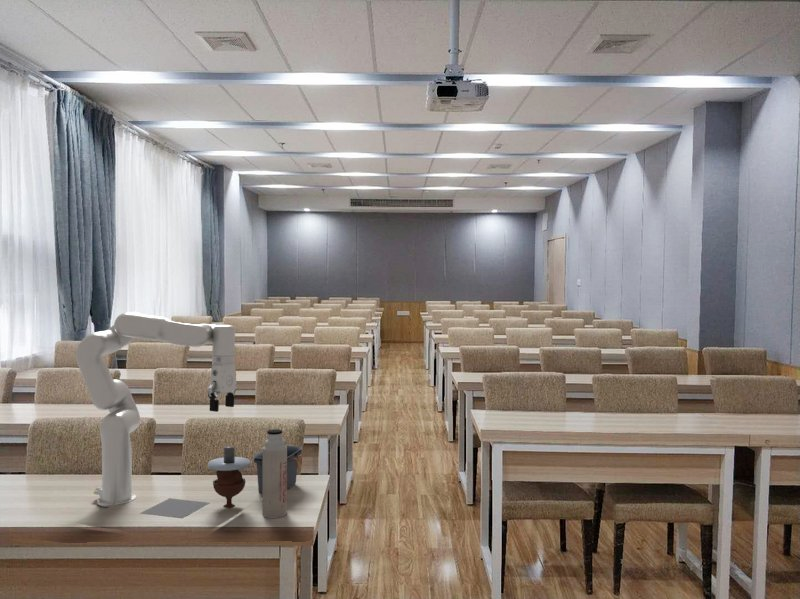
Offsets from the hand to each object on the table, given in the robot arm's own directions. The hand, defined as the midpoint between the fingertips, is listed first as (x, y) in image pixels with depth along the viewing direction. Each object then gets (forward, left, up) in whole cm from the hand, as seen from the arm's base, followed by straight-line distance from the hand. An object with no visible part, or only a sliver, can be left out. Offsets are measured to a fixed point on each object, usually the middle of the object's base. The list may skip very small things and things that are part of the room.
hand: (221, 408), depth 234 cm
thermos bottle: (+23, -6, -33) cm, 41 cm away
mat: (-10, -13, -33) cm, 36 cm away
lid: (+7, -6, -18) cm, 20 cm away
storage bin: (+13, +19, -33) cm, 40 cm away
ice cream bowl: (+6, -6, -33) cm, 34 cm away
